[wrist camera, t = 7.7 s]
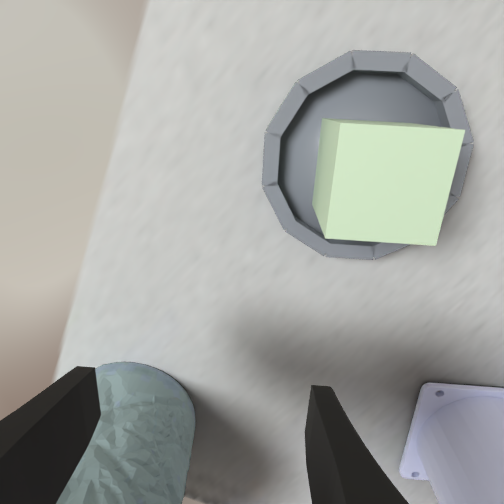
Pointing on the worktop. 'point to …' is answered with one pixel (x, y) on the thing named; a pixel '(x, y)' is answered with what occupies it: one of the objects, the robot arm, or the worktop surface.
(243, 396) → the worktop surface
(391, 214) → the block
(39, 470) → the robot arm
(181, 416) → the teal plant pot
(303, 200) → the dish
